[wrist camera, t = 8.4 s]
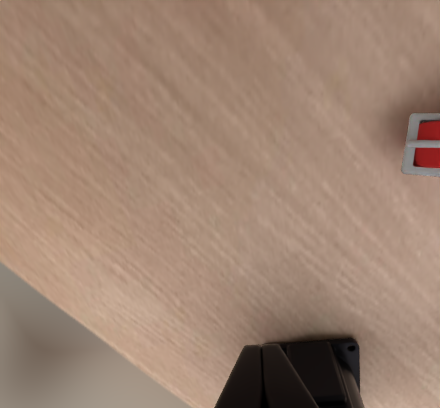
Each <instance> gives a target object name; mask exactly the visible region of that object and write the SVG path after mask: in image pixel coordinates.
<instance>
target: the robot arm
mask: <svg viewBox="0 0 440 408" xmlns="http://www.w3.org/2000/svg"><path fill="white" fill-rule="evenodd" d="M351 345H352V346H351ZM349 346H350V347H349ZM214 408H365V407H364V404H363V401H362V399H361V396H360V365H359V345H358V343H357V341H356V340H355V339H353V338H344V339H332V340H319V341H307V342H295V343H283V344H263V345H262V346H260V345H246V346H244V348H243V349H242V351H241V353H240V356H239V358H238V360H237V362H236V364H235V366H234V368H233V370H232V372H231V374H230V376H229V378H228V380H227V383H226V385H225V387H224V389H223V391H222V393H221V395H220V397H219V399H218V401H217V403H216V405H215V407H214Z"/></svg>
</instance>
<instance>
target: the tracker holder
mask: <svg viewBox="0 0 440 408" xmlns="http://www.w3.org/2000/svg"><path fill="white" fill-rule="evenodd" d="M422 122H425V123H422ZM438 168H440V113H413V114H412V115H410V119H409V125H408V131H407V137H406V143H405V150H404V156H403V162H402V168H401V171H402V172H403V174H411V175H423V176H434V177H440V169H438Z"/></svg>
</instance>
